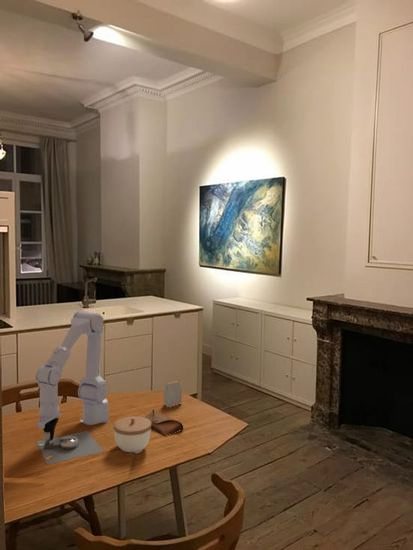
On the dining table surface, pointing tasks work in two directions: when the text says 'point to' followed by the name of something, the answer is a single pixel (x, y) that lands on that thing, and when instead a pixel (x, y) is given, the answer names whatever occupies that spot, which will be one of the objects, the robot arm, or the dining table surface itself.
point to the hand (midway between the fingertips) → (49, 439)
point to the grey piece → (61, 442)
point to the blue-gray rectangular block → (172, 394)
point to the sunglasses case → (163, 423)
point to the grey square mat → (83, 449)
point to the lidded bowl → (132, 433)
